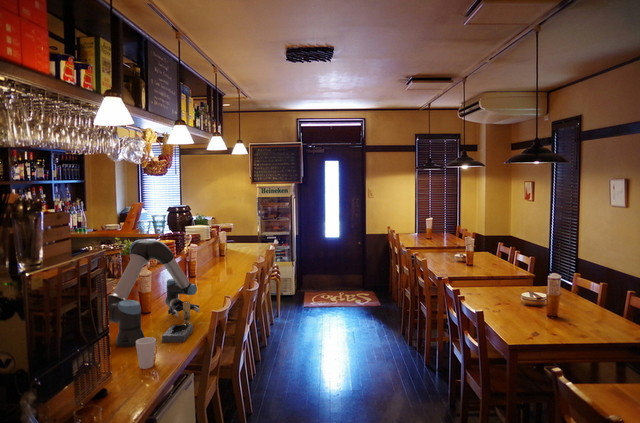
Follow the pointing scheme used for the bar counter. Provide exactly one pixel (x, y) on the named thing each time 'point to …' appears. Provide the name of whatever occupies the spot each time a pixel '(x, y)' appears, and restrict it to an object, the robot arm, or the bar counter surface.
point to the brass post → (186, 313)
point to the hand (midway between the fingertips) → (188, 312)
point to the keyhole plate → (177, 333)
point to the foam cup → (146, 351)
